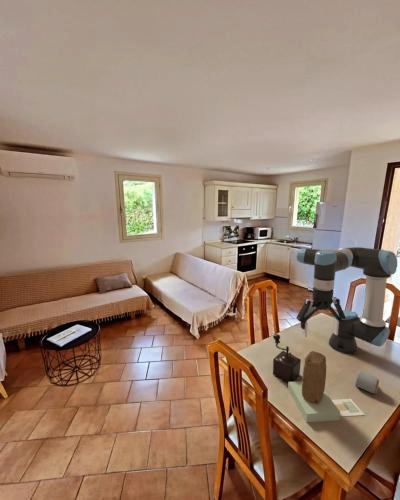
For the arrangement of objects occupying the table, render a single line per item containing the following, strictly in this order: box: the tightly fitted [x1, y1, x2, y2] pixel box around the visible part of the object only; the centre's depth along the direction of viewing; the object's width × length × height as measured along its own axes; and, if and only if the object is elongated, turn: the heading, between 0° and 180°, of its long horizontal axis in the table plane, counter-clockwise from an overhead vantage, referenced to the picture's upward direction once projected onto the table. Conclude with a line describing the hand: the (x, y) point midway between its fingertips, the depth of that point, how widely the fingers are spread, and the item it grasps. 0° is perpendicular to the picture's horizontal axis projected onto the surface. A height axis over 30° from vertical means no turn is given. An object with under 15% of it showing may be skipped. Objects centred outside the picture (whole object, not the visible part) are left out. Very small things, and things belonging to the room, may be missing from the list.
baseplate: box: [287, 380, 341, 423], centre depth 98 cm, size 14×17×4 cm
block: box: [301, 350, 327, 404], centre depth 96 cm, size 11×8×20 cm
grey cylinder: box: [355, 369, 380, 395], centre depth 106 cm, size 11×8×8 cm
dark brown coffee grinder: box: [272, 333, 302, 384], centre depth 116 cm, size 16×11×18 cm
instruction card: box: [331, 398, 365, 418], centre depth 96 cm, size 10×8×1 cm
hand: (319, 334), depth 95 cm, fingers open, 13 cm apart
